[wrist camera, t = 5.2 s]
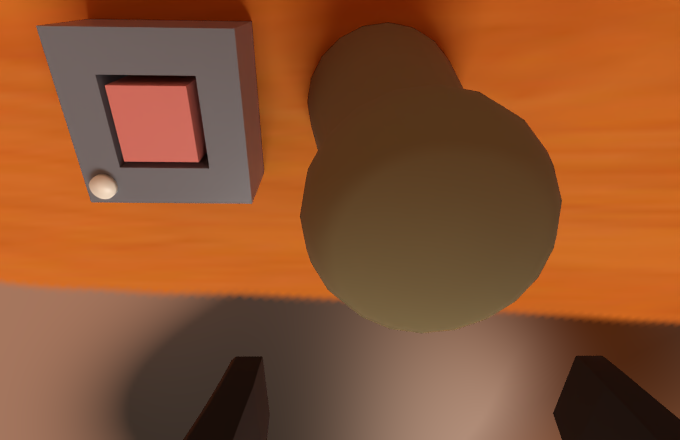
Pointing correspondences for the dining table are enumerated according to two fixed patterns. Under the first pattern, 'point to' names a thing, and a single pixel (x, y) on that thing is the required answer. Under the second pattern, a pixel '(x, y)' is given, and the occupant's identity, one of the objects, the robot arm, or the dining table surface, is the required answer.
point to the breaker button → (157, 118)
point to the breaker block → (160, 59)
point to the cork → (421, 187)
